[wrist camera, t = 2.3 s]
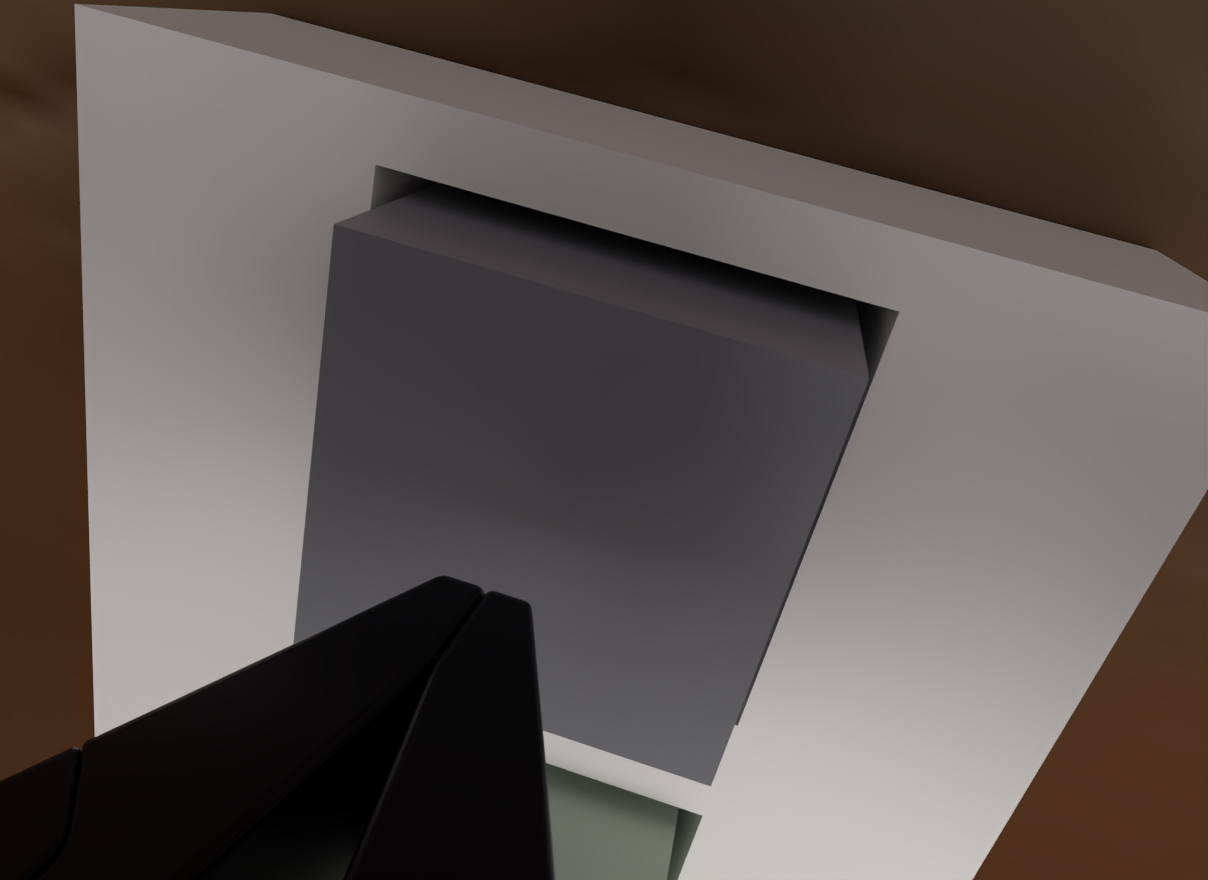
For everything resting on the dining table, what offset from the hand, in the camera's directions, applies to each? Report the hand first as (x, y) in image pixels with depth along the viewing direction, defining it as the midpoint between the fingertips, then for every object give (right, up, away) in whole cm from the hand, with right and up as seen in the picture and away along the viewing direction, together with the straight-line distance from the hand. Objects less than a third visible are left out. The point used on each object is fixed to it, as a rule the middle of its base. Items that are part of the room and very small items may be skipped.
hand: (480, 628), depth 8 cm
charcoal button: (+1, +2, +5) cm, 5 cm away
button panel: (0, -4, +10) cm, 10 cm away
